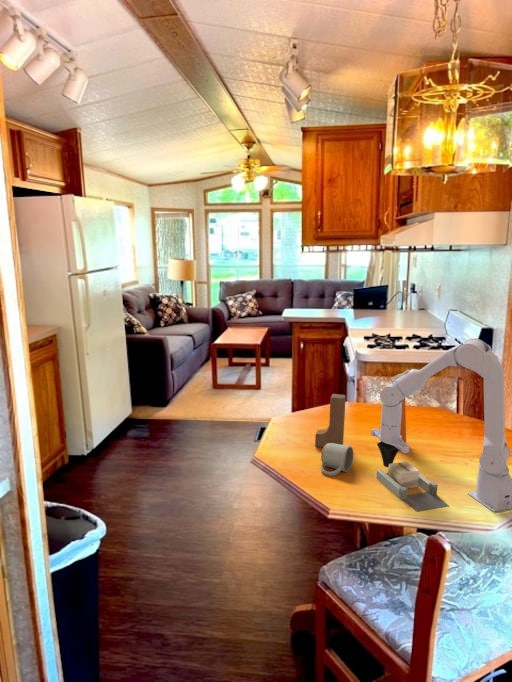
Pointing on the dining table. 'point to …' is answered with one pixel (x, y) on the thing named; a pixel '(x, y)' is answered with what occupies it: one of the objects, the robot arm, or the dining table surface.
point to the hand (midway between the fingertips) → (387, 465)
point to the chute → (402, 491)
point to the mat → (424, 501)
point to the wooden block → (333, 423)
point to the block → (404, 474)
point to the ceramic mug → (336, 458)
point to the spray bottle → (403, 412)
